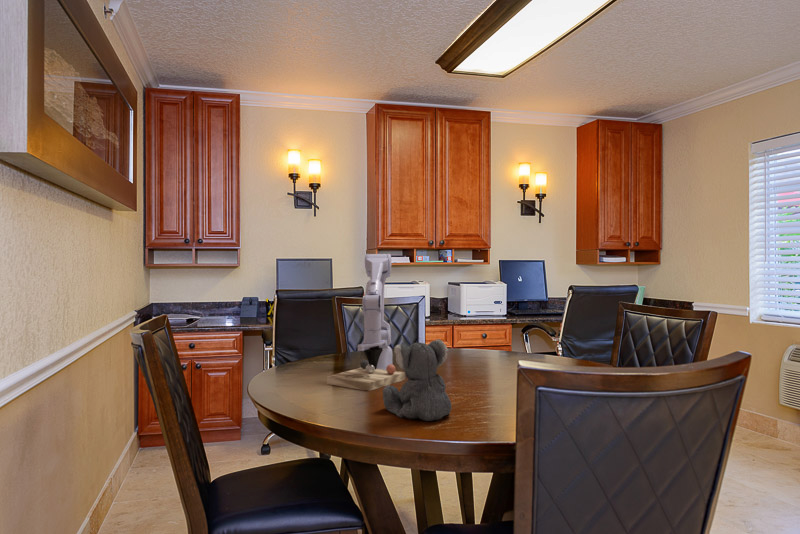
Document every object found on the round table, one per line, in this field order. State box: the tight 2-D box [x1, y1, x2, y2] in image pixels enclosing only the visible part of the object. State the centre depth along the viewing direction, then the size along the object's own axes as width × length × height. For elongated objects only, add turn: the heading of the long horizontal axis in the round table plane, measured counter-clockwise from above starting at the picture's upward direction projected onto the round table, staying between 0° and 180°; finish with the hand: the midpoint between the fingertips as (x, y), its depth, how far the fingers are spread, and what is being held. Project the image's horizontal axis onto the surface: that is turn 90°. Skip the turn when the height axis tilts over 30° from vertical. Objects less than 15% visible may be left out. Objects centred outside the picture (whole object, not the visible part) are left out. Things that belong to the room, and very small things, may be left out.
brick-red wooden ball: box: [386, 363, 397, 374], centre depth 176 cm, size 3×3×3 cm
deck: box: [326, 367, 406, 392], centre depth 176 cm, size 20×18×2 cm
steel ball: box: [366, 364, 375, 373], centre depth 178 cm, size 3×3×3 cm
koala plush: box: [382, 338, 452, 422], centre depth 137 cm, size 17×18×20 cm
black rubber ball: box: [359, 359, 369, 369], centre depth 185 cm, size 3×3×3 cm
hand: (373, 369), depth 179 cm, fingers closed, pressing on steel ball
